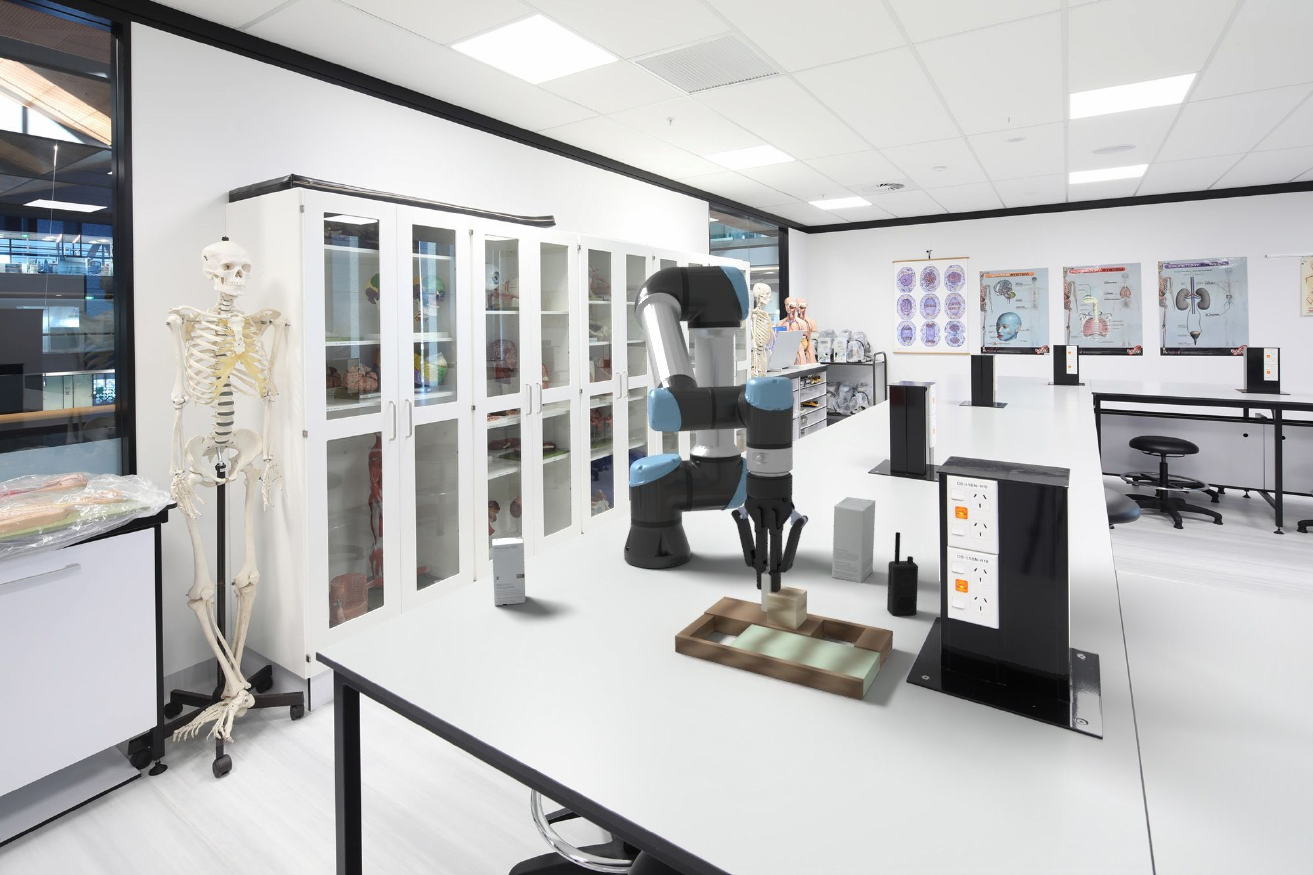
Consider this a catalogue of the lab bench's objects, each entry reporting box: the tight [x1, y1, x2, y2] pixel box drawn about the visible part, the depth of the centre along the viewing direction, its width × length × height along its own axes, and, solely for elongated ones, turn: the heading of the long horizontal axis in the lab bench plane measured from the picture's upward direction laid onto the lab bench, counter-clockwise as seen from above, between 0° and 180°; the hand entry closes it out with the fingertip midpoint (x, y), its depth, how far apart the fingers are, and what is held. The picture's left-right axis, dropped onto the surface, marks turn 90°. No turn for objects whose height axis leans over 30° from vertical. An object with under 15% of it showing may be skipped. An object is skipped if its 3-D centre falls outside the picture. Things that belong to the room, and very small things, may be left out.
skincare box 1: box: [491, 536, 526, 606], centre depth 134 cm, size 6×4×12 cm
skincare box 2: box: [831, 496, 876, 584], centre depth 143 cm, size 8×7×16 cm
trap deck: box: [674, 596, 894, 701], centre depth 111 cm, size 30×18×3 cm, turn 58°
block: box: [767, 585, 808, 630], centre depth 115 cm, size 5×5×5 cm
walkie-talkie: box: [886, 531, 919, 617], centre depth 124 cm, size 5×3×15 cm
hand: (768, 608), depth 117 cm, fingers closed
